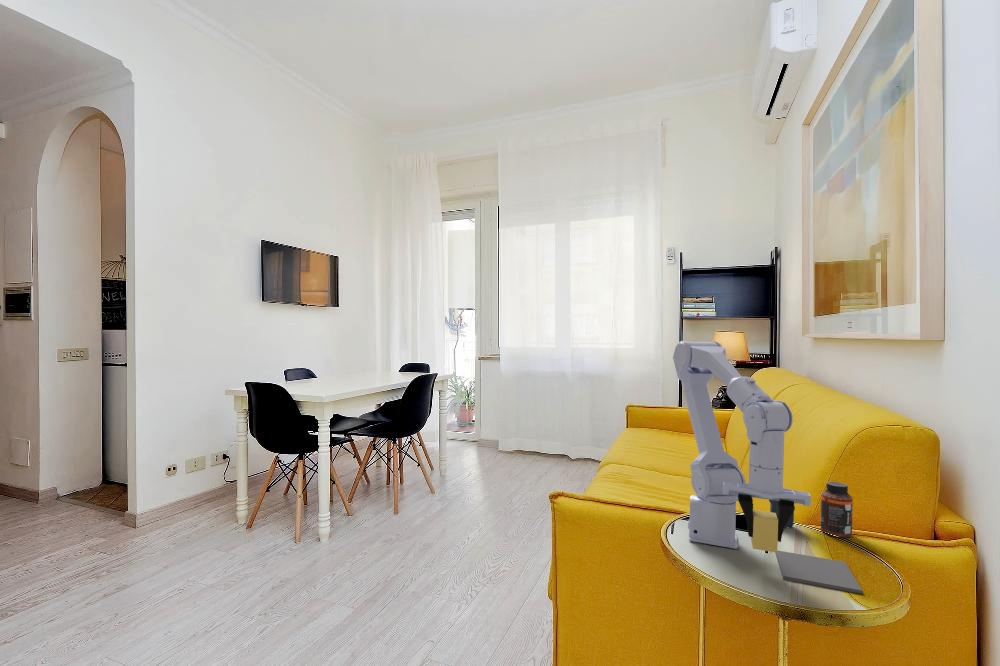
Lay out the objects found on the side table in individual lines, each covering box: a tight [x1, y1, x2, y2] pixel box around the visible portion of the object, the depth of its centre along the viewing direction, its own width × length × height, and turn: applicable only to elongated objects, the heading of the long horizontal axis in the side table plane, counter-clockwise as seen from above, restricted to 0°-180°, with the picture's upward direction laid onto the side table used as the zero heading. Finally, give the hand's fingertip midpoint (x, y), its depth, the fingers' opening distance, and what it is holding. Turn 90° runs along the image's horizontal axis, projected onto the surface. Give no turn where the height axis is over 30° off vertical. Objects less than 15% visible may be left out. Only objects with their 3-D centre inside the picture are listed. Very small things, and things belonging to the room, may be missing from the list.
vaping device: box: [768, 500, 795, 528], centre depth 117 cm, size 3×5×12 cm, turn 67°
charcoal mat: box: [774, 549, 863, 595], centre depth 94 cm, size 12×12×1 cm
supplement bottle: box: [820, 481, 854, 539], centre depth 113 cm, size 6×6×11 cm
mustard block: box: [750, 509, 779, 554], centre depth 94 cm, size 4×4×6 cm
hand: (764, 537), depth 94 cm, fingers closed on mustard block, 4 cm apart
